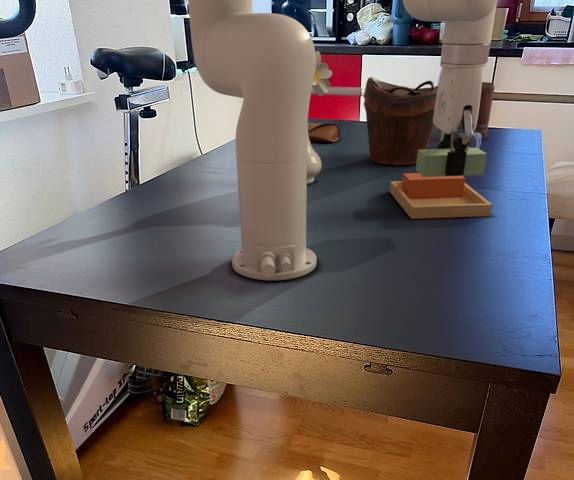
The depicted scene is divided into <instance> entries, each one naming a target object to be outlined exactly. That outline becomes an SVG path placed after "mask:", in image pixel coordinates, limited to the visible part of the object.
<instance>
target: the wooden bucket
mask: <svg viewBox="0 0 574 480" xmlns="http://www.w3.org/2000/svg"><path fill="white" fill-rule="evenodd" d="M429 85H430V87H424V86H429ZM437 89H438V85H436V86H435V84H434V82H433V81H432V80H426V81H424V82H422V83H420V84H419V85H418V86H416V87H415V88H414V87H408V86H403V85H399V84H392V83H389V82H386V81H382V80H379V79H378V78H375V77H374V76H373V77H372V76H370V77H368V78H367V80H366V83H365V88H364V92H363V99H364V100H363V101H364V102H363V107H364V110H365V118H366V128H367V130H366V131H367V138H368V141H367V142H368V150H369V158H370V160H371V161H373V162H374V163H378V164H381V165H387V166H393V167H394V166H396V167H400V166H402V167H404V166H413V165H416V164H417V154H418V150H424V149H428V148H429V144H430V141H431V137H432V135H433V132H434V128H435V126H434V124H433V115H434V108H435V102H436V95H437Z"/></svg>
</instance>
